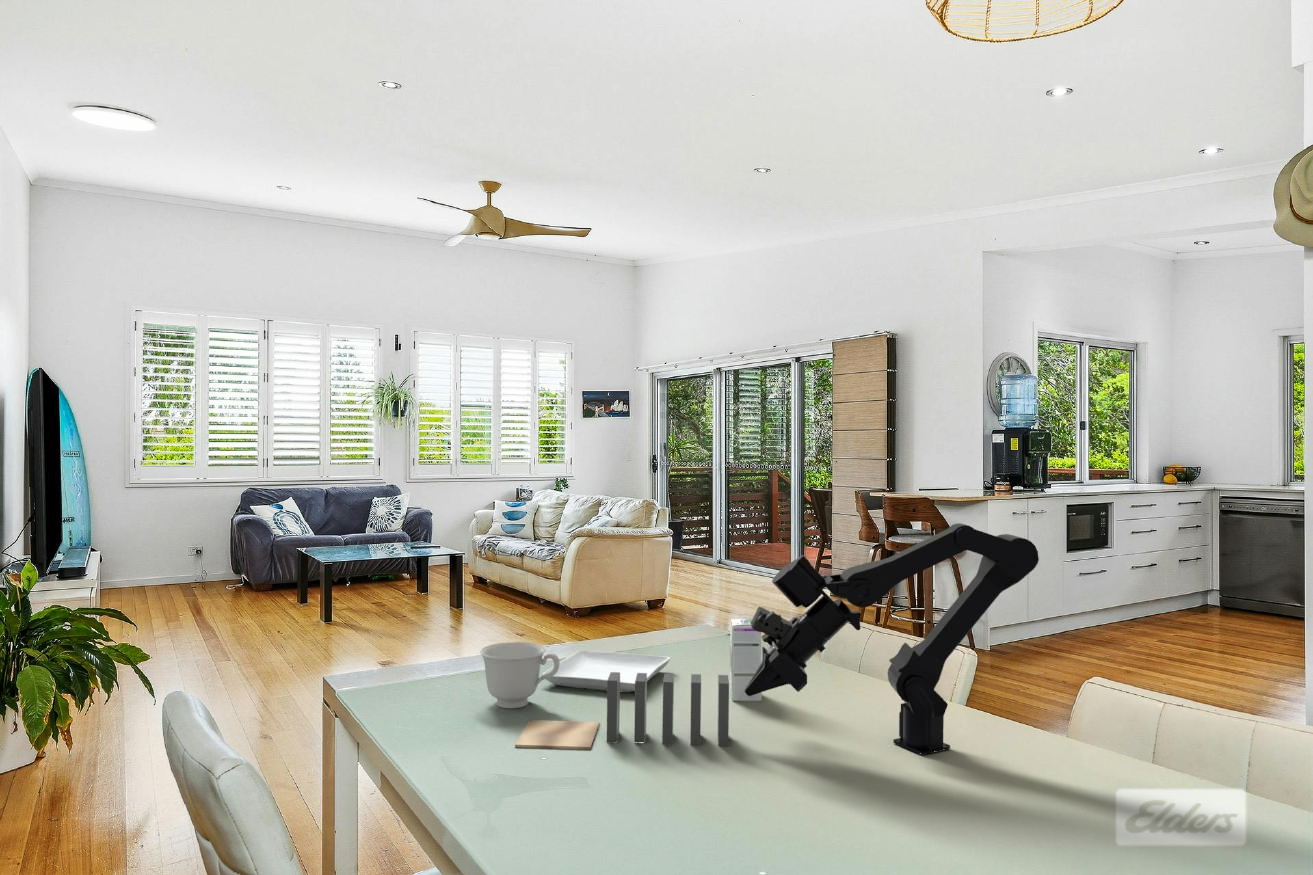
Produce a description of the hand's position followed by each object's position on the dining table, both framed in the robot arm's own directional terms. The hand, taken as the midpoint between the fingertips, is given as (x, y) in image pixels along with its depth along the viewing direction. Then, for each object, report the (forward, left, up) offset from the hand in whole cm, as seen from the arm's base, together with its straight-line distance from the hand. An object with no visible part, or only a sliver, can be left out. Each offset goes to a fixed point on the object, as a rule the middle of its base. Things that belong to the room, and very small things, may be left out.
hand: (746, 693), depth 138 cm
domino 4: (+4, +7, -8) cm, 11 cm away
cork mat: (+16, +26, -8) cm, 32 cm away
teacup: (+35, +26, -8) cm, 44 cm away
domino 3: (+7, +11, -8) cm, 15 cm away
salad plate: (+43, +4, -8) cm, 44 cm away
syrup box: (+20, -14, -8) cm, 26 cm away
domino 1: (+11, +18, -8) cm, 23 cm away
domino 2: (+9, +15, -8) cm, 19 cm away
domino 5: (+2, +3, -8) cm, 9 cm away
